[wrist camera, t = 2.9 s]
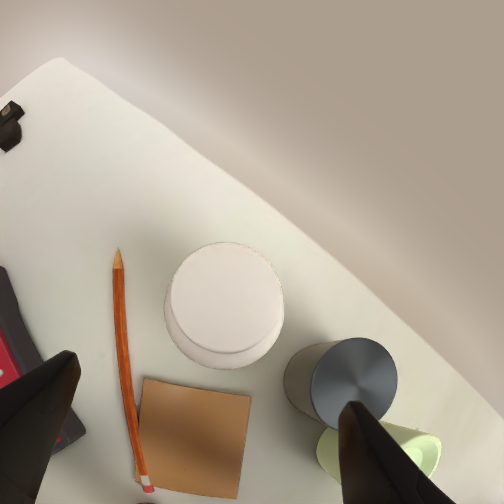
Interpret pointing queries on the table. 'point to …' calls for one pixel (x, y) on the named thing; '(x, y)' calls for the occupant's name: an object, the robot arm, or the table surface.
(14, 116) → the lighter
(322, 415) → the grey tin
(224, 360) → the supplement bottle
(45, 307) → the table surface
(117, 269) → the pencil
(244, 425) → the cork pad
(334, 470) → the candle
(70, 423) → the calculator
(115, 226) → the table surface
